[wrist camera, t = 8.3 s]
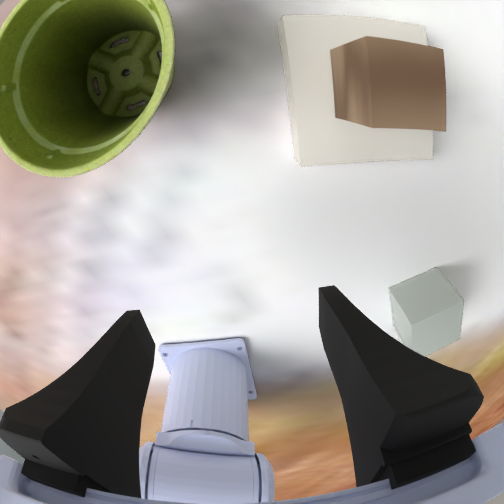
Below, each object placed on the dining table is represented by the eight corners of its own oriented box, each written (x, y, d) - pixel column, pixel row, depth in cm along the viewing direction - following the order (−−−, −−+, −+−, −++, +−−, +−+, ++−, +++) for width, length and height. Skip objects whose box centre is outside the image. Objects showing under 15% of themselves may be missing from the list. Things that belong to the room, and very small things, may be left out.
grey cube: (436, 305, 26) (459, 338, 22) (393, 325, 27) (412, 362, 23) (435, 266, 24) (464, 299, 20) (387, 287, 25) (411, 325, 20)
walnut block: (396, 118, 16) (446, 131, 11) (335, 117, 16) (372, 128, 11) (393, 55, 14) (443, 49, 9) (329, 50, 14) (366, 36, 9)
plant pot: (181, -13, 13) (143, -73, 6) (220, 114, 18) (204, 128, 10) (56, 46, 14) (-28, 40, 6) (92, 161, 19) (18, 207, 11)
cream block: (411, 149, 19) (432, 159, 17) (292, 156, 20) (300, 167, 17) (402, 31, 15) (424, 26, 12) (276, 26, 15) (282, 15, 13)
